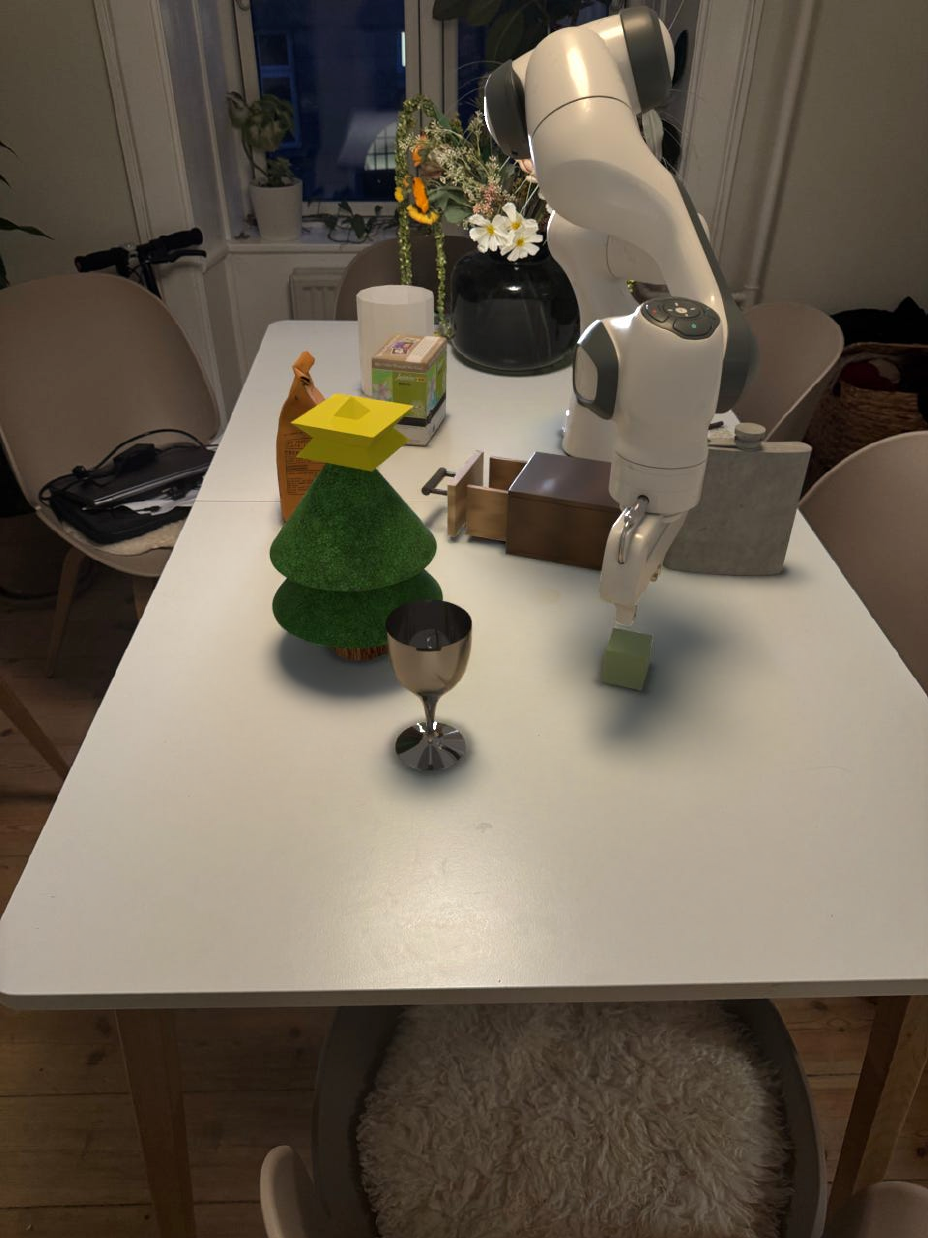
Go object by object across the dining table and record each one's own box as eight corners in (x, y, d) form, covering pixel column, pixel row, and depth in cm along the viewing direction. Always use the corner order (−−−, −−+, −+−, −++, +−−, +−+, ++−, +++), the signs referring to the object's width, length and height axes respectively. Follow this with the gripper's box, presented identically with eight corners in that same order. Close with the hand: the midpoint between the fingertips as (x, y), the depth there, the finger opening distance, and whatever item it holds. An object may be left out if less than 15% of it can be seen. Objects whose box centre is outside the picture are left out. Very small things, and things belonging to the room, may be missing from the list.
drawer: (414, 529, 124) (413, 479, 120) (444, 493, 134) (444, 445, 129) (547, 553, 119) (551, 501, 114) (569, 513, 129) (573, 464, 124)
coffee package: (351, 488, 137) (341, 346, 124) (345, 526, 127) (334, 376, 114) (287, 488, 136) (271, 346, 124) (275, 526, 126) (257, 376, 114)
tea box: (428, 447, 150) (427, 361, 142) (372, 442, 152) (367, 356, 144) (447, 415, 163) (447, 334, 154) (395, 410, 164) (392, 331, 156)
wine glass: (390, 721, 91) (384, 600, 83) (466, 718, 92) (468, 597, 83) (391, 775, 85) (385, 650, 76) (473, 771, 85) (476, 646, 77)
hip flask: (778, 563, 119) (813, 422, 108) (785, 578, 116) (821, 435, 104) (660, 556, 120) (682, 417, 109) (662, 571, 117) (685, 429, 106)
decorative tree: (330, 585, 113) (309, 353, 96) (468, 618, 107) (472, 377, 90) (245, 668, 98) (203, 412, 82) (399, 712, 93) (388, 446, 76)
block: (609, 659, 101) (613, 627, 98) (648, 667, 99) (653, 634, 97) (601, 682, 97) (605, 649, 95) (641, 690, 96) (646, 657, 93)
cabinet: (505, 553, 120) (508, 490, 115) (531, 511, 131) (535, 450, 126) (618, 574, 116) (626, 509, 111) (635, 528, 127) (644, 466, 122)
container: (371, 374, 181) (367, 283, 171) (440, 378, 180) (440, 286, 169) (354, 398, 169) (349, 302, 159) (428, 403, 168) (427, 306, 158)
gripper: (659, 530, 76) (639, 659, 84) (711, 447, 91) (690, 562, 99) (590, 515, 78) (576, 642, 86) (652, 436, 93) (636, 550, 101)
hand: (638, 598), depth 92 cm, fingers open, 8 cm apart
